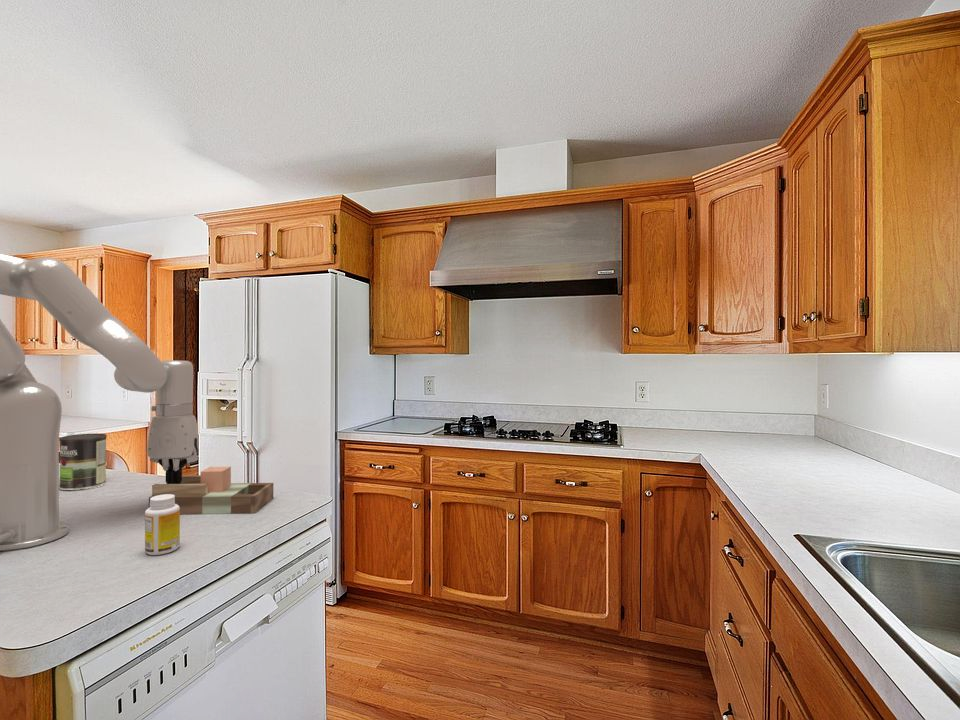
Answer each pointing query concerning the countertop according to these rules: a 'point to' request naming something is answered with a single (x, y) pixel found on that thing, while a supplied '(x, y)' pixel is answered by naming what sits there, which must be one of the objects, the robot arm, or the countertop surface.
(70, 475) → the coffee can
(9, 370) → the robot arm
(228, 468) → the block
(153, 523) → the supplement bottle
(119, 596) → the countertop surface
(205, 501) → the brown rectangular tray
